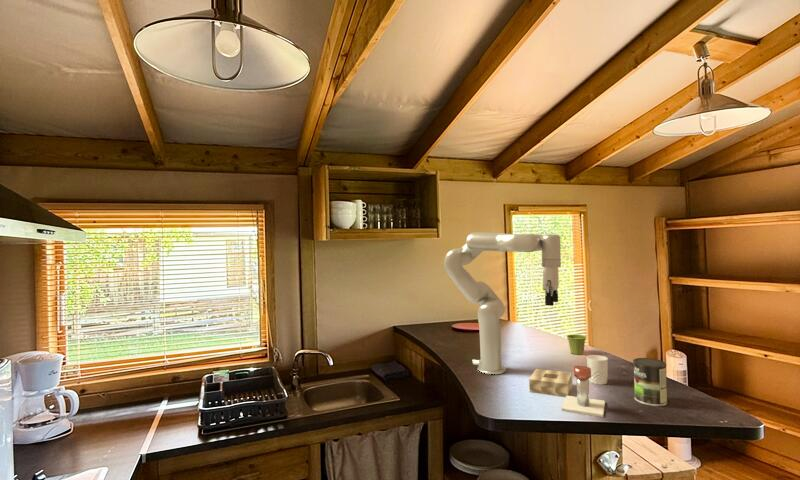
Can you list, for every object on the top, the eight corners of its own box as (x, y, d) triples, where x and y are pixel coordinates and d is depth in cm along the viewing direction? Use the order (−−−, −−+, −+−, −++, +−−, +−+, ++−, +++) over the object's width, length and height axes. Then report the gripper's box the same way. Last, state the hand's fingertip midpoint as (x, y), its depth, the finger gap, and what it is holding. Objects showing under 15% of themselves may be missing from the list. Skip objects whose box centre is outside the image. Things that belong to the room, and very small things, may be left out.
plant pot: (567, 355, 210) (566, 338, 210) (567, 350, 219) (566, 334, 219) (587, 356, 207) (586, 339, 207) (586, 351, 215) (586, 334, 215)
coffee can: (646, 407, 145) (645, 366, 145) (628, 396, 155) (626, 358, 155) (674, 405, 145) (673, 365, 145) (654, 394, 156) (652, 356, 156)
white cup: (611, 385, 166) (610, 360, 166) (590, 384, 168) (589, 360, 168) (605, 378, 174) (604, 355, 174) (585, 378, 176) (584, 354, 176)
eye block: (529, 391, 163) (529, 379, 163) (536, 380, 175) (536, 368, 175) (567, 397, 156) (567, 383, 156) (572, 385, 168) (571, 372, 168)
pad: (561, 410, 144) (561, 408, 144) (566, 397, 156) (566, 395, 156) (603, 417, 138) (603, 414, 138) (604, 402, 150) (604, 400, 150)
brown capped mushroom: (573, 405, 146) (572, 369, 146) (575, 400, 151) (574, 365, 151) (591, 408, 143) (590, 371, 143) (592, 402, 148) (591, 366, 148)
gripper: (546, 262, 186) (546, 300, 186) (537, 264, 171) (538, 306, 172) (564, 262, 182) (564, 301, 183) (556, 265, 168) (557, 307, 168)
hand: (551, 303), depth 177 cm, fingers open, 9 cm apart
